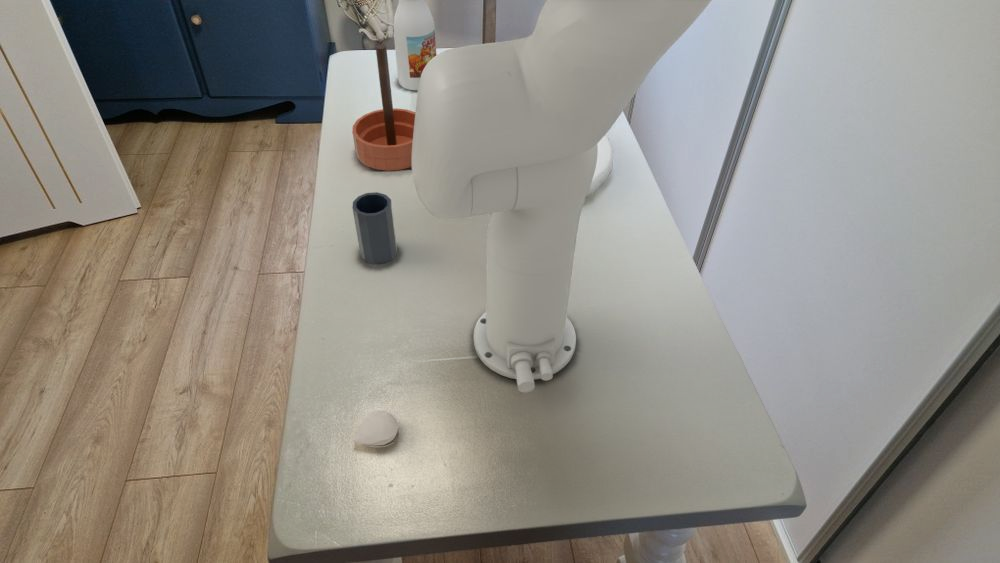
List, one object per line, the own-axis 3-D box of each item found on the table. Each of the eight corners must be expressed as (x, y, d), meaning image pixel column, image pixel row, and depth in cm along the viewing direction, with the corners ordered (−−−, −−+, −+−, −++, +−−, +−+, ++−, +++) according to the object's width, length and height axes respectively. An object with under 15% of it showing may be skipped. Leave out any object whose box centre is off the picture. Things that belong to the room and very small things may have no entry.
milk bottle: (395, 91, 127) (384, -16, 113) (401, 72, 133) (391, -32, 119) (435, 92, 127) (429, -15, 113) (439, 73, 132) (434, -31, 119)
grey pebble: (405, 442, 71) (403, 429, 69) (361, 463, 69) (358, 450, 67) (389, 413, 73) (387, 400, 72) (347, 432, 71) (343, 419, 70)
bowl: (430, 171, 108) (429, 145, 104) (355, 175, 106) (350, 149, 103) (427, 132, 116) (426, 106, 113) (357, 135, 115) (354, 110, 112)
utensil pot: (397, 265, 91) (391, 214, 85) (360, 268, 90) (351, 216, 84) (397, 242, 95) (391, 191, 88) (362, 244, 94) (353, 193, 88)
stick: (397, 151, 110) (386, 48, 98) (387, 152, 110) (375, 48, 98) (397, 146, 112) (386, 43, 99) (387, 147, 111) (375, 44, 99)
